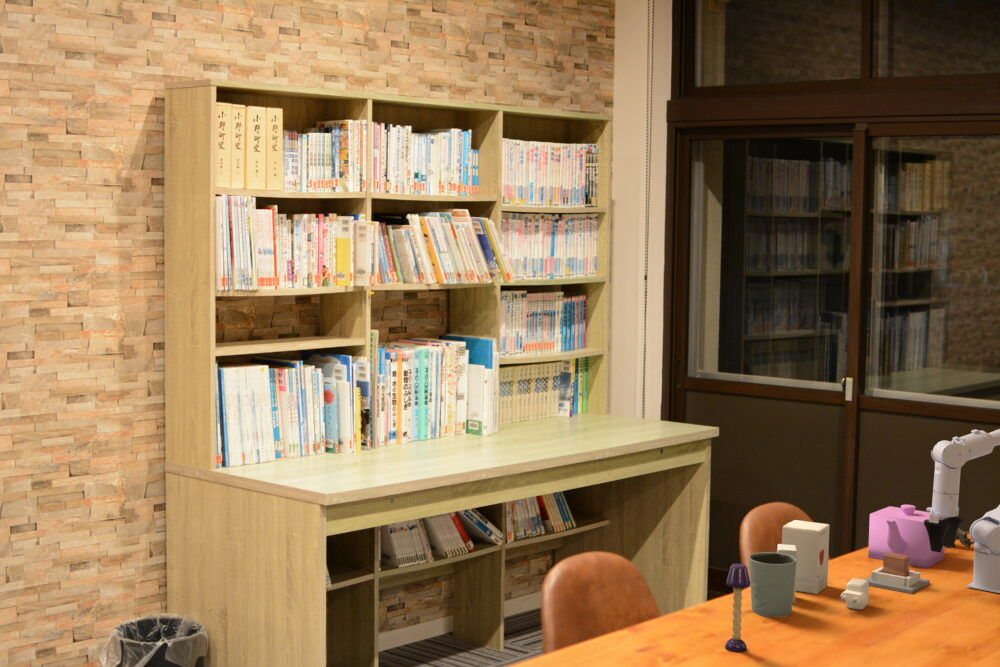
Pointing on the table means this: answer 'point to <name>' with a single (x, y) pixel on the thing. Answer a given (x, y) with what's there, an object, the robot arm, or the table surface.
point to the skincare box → (790, 551)
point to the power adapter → (856, 594)
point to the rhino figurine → (962, 538)
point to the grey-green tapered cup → (772, 583)
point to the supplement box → (809, 553)
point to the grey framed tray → (897, 581)
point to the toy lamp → (737, 604)
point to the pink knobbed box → (902, 535)
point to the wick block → (896, 564)
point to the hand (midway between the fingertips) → (941, 549)
